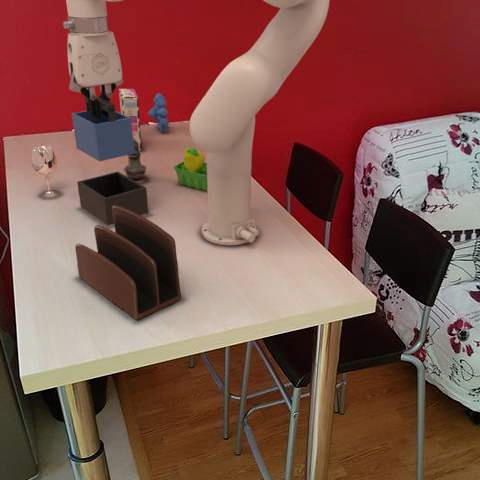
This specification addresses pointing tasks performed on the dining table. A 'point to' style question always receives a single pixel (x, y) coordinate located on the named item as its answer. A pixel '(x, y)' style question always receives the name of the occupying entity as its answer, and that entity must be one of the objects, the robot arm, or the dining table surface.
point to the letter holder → (132, 264)
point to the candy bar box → (131, 111)
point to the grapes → (160, 112)
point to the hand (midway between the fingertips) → (101, 115)
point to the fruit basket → (192, 170)
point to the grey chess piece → (135, 164)
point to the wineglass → (44, 162)
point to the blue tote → (103, 132)
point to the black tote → (112, 196)
